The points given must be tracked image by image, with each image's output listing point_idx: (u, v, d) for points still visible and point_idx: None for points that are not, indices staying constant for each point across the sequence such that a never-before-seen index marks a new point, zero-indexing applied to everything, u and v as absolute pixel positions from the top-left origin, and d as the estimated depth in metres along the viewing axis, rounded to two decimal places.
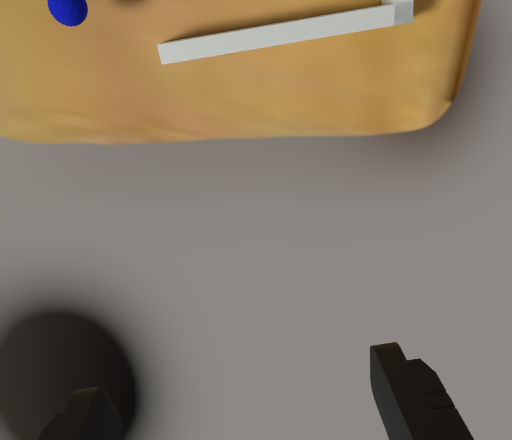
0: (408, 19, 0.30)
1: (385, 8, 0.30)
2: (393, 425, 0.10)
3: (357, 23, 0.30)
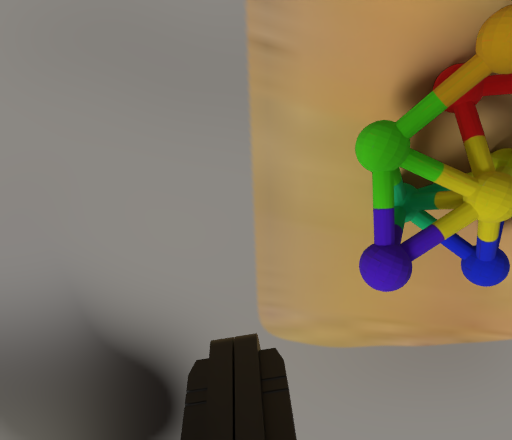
0: None
1: None
2: None
3: None
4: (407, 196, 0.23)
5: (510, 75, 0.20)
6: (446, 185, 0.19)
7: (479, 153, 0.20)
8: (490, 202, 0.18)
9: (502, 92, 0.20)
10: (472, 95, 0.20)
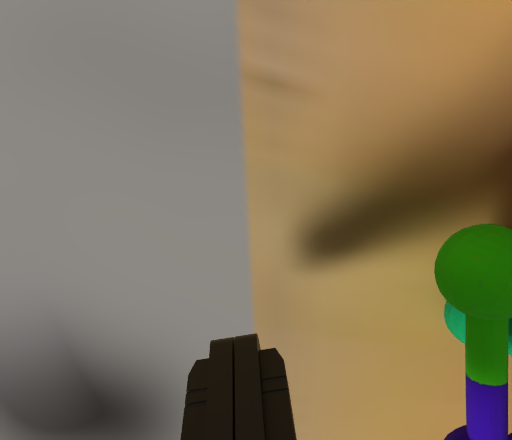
0: None
1: None
2: None
3: None
4: None
5: None
6: None
7: None
8: None
9: None
10: None
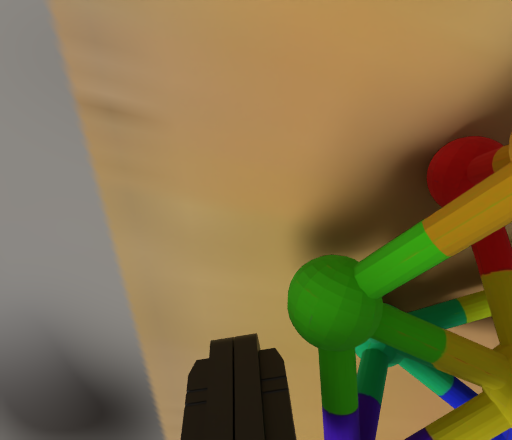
0: None
1: None
2: None
3: None
4: None
5: None
6: (451, 371, 0.10)
7: (509, 304, 0.11)
8: None
9: None
10: None
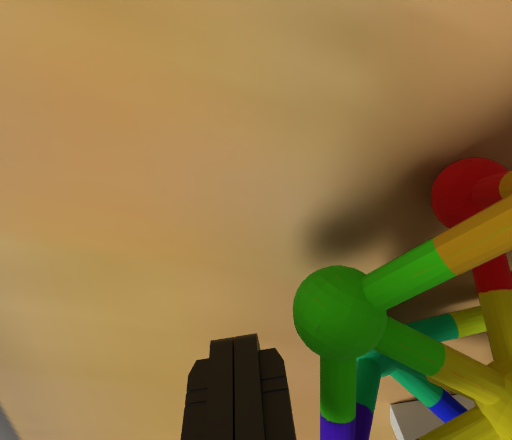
0: None
1: None
2: None
3: None
4: None
5: None
6: (448, 385, 0.11)
7: (505, 323, 0.11)
8: None
9: None
10: None
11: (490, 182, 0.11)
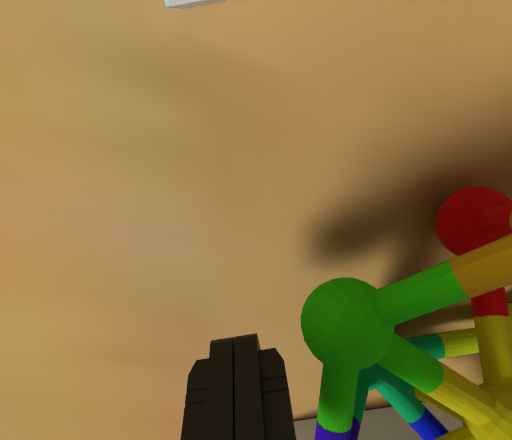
0: None
1: None
2: None
3: None
4: None
5: None
6: (442, 403, 0.11)
7: (499, 347, 0.12)
8: None
9: None
10: None
11: (500, 212, 0.11)
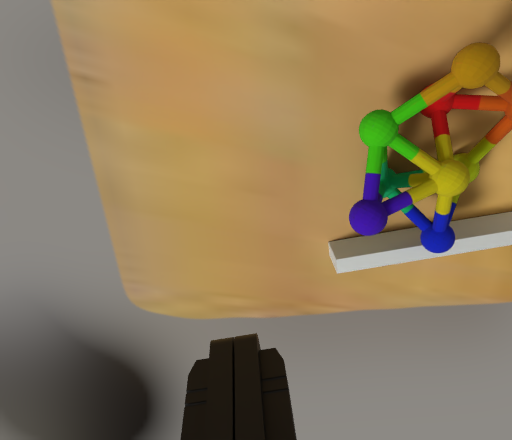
0: None
1: None
2: None
3: None
4: (388, 176, 0.31)
5: (472, 96, 0.28)
6: (419, 164, 0.26)
7: (444, 146, 0.27)
8: (447, 179, 0.26)
9: (465, 107, 0.28)
10: (444, 106, 0.28)
11: None
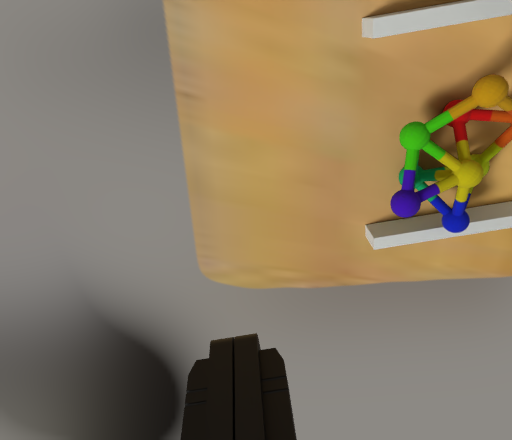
0: None
1: None
2: None
3: None
4: (418, 172, 0.39)
5: (485, 110, 0.36)
6: (445, 163, 0.35)
7: (464, 149, 0.36)
8: (466, 174, 0.34)
9: (480, 119, 0.36)
10: (464, 118, 0.36)
11: None
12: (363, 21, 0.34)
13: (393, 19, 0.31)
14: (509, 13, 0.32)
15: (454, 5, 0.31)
